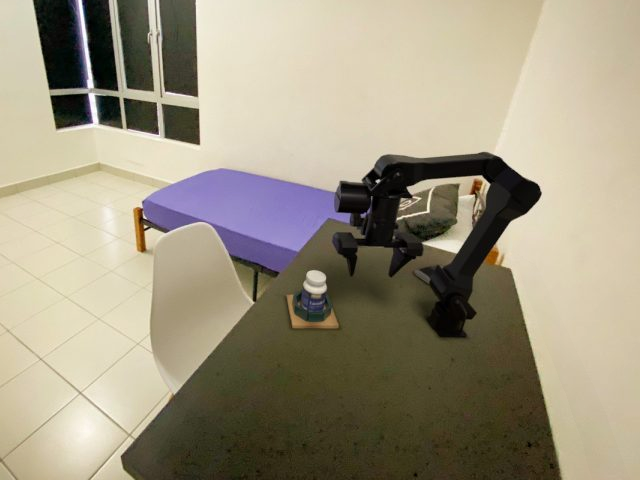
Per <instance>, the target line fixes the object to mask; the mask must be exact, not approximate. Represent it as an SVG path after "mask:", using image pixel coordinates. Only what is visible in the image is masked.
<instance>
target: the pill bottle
mask: <svg viewBox="0 0 640 480" xmlns="http://www.w3.org/2000/svg"><path fill="white" fill-rule="evenodd" d="M326 281H327V276H326V274H325V273H324V272H322V271H320V270H317V269H312V270H309V271H307V273H306V276H305V280H304V282H303V284H302V289H303V290H302V289H301V290H302V297H301V305H300V306H301V307H302V308H304V309H306V310H307V311H309V312H322V311H323V309H324V303H325V297H326V295H327V290H328V286H327V283H326Z"/></svg>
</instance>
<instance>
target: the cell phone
mask: <svg viewBox="0 0 640 480" xmlns="http://www.w3.org/2000/svg"><path fill="white" fill-rule="evenodd" d="M437 265H440V266H442V267H444V265H441V264H434V265H429V266H426V267H422V268H418V269H415V270H414V275H415V276H416V277H418V278H419V279H421V280H423V282H424V283H426V284H428V285H429V282H430V278H429V276H430V275H432V273H433V272H434V270H435V268H436V266H437Z"/></svg>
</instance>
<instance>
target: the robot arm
mask: <svg viewBox="0 0 640 480" xmlns="http://www.w3.org/2000/svg"><path fill="white" fill-rule="evenodd" d="M479 176H480V177H481V176H482V178H483V179H484V180H485V181H486V182H487V183H488V184H489V186H488V189H487V191H486V193H485V209H484V211H483V212H482V214H481V216H480V217H479V218H478V220H477V222H476V223H475V225H474V226H473V228H472V229H471V231H470V233H469V234H468V236H467V237H466V239H465V240H464V242H463V243H462V245H461V247H460V248H459V250H458V252H457V253H456V254H455V256H454V258H453V259H452V261H451V262H450V263H448V264H446V265H442V266H443V267H442V266H440V265H441V264H439V265H437V264H436V265H437V266H436V268H435V270H434V272H433V273H432V275H430V276H429V278H430V282H429V284H428V285H429V287H430V290H431V291H432V292H433V293H434V296H435V297H436V298H437V299H438V301H435V304H434V307H432V309H431V312H430V315H427V316H426V320H427V321H428V322H429V324H430V325H431V327H432V328H433V329H434V331H435V332H436V334H438V336H439V337H441V338H466V337H467V335H468V334H467V333H466V332H465V331H464V327H465V323H466V321H467V320H470V321H471V320H473V319H474V317H476V315H477V314H478V312H477V311H476V310H475V309H474V307H473V306H472V305H471V304H470V302H469V300H470V299H471V296H472V294H473V291H474V289H473V288H474V276H475V275H476V274H477V272H478V271H479V269H480V268H481V266H482V265H483V264H484V262H485V260H486V259H487V257H488V256H489V255H490V253H491V252H492V250H493V248H494V247H495V246H496V244H497V242H498V241H499V240H500V239H501V237H502V235H503V234H504V232H505V231H506V230H507V228H508V226H509V225H510V224H511V223H512V221H515V220H516V219H519V218H521V217H523V216H525V215H527V214H528V213H529V212H530V211H531V210H532V209H533V208H534V207H535V205H536V204H537V203H538V202H539V201H540V199H541V197H542V194H543V192H542V189H541V186H540V185H539V184H538V183H537V182H536V181H534V180H532V179H529V178H527V177H524V176H523V175H521V174H520V173H519V172H518V171H516V170H515V169H514V168H512V166H510V165H509V164H508V163H506V161H505V160H504V159H503V158H502V157H501V156H499V155H496V154H493V153H491V152H489V151H480V152H476V153H465V154H455V155H444V156H443V155H441V156H431V157H415V156H409V155H403V154H393V153H387V154H383V155H381V156H380V157H379V158H378V159H376V161H375V163H374V166H373V167H372V168H371V169H370V170H369V171H368V173H366V174H365V175H364V176H363V177H362V178H361V182H356V181H349V180H348V181H347V180H339V182H338V185H337V187H336V191H334V199H333V207H334V208H333V209H334V213H337V214H350V216H349V226H350V227H355V228H356V230H359V231H360V232H359V233H360V235H361V236H364V237H362V238H361V237H359V238H358V237H357V238H355V236H354V235H353V233H352V232H351V231H336V232H335V233H334V234H333V235H332V238H331V239H332V240H331V243H332V244H333V247H334V249H335V251H336V253H337V254H338V255H340V256H342V257H343V258H344V259H345V260H346V264H347V269H348V274H349V276H350V278H353V277H354V275H355V271H356V266H357V261H358V255H357V253H358V251H359V248H365V249H372V248H373V249H392V256H391V260H390V264H389V267H388V273H387V274H388V277H389V278H393V277H394V276H395V275H397V273H398V272H399V271H400V270H401V269H402V268H403V267H404V266H406V265H408V263H410V262H411V261H412V260H416V259H417V257H423V255H424V251H425V246H424V243H423V242H421V240H420V239H418V238H417V236H416V235H414V234H413V233H409V232H408V233H402V232H399V233H396V234H395V231H396V230H399V226H400V225H399V224H398V223H397V221H398V216H399V212H400V207H401V201H402V199H406V200H407V199H408V200H412V199H413V198H414V196H413V195H412V193H410V191H409V189H408V188H409V187H412V186H415V185H417V184H419V183H420V182H424V181H428V180H440V179H442V180H443V179H453V178H454V179H457V178H465V177H466V178H467V177H479ZM377 181H379V182H377ZM364 214H365V215H364ZM363 215H364V216H363ZM394 235H395V236H394Z"/></svg>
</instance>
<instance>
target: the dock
mask: <svg viewBox="0 0 640 480" xmlns="http://www.w3.org/2000/svg"><path fill="white" fill-rule="evenodd" d="M302 290H303V288H302V289H300V290H298V291H297V292H296V293H294V294H286V296H285V298H286V303H287V309H288V313H289V318H290V324H291V329H339V328H340V327H339V326H340V325H339V321H338V319H337V316H336V314H335V311H334V309H333V305H332V302H331V299H330V296H329V295H328V294H326V297H325V303H324V309H323V311H322V312H309V311H307V310H306V309H304V308H302V307H301V306H300V305H301V297H302Z"/></svg>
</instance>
